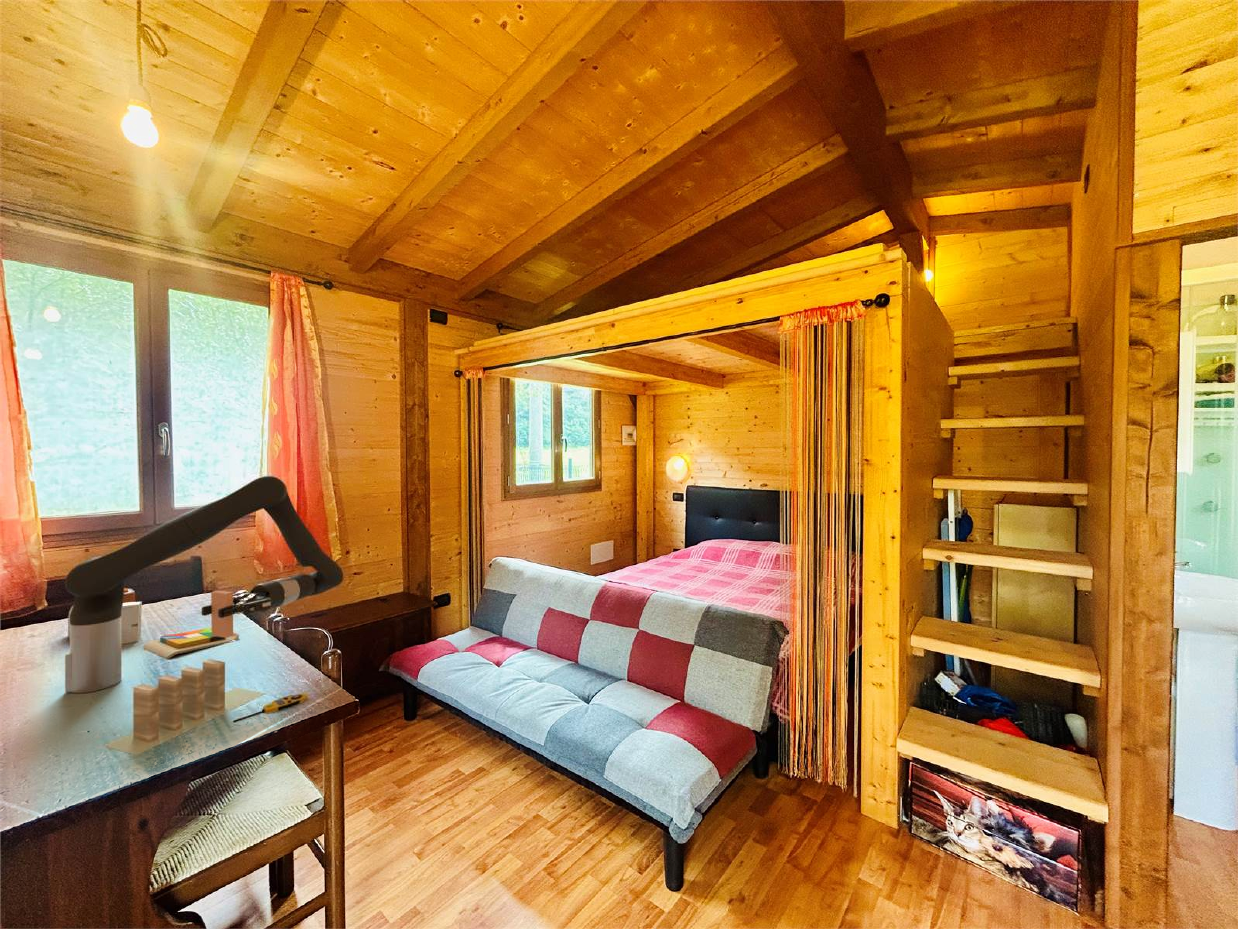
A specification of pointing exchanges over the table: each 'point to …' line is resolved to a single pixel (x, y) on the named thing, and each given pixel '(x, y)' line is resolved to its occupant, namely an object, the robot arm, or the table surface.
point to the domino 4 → (225, 624)
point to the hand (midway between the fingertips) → (211, 612)
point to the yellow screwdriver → (280, 704)
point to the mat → (185, 723)
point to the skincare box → (131, 622)
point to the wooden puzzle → (186, 642)
